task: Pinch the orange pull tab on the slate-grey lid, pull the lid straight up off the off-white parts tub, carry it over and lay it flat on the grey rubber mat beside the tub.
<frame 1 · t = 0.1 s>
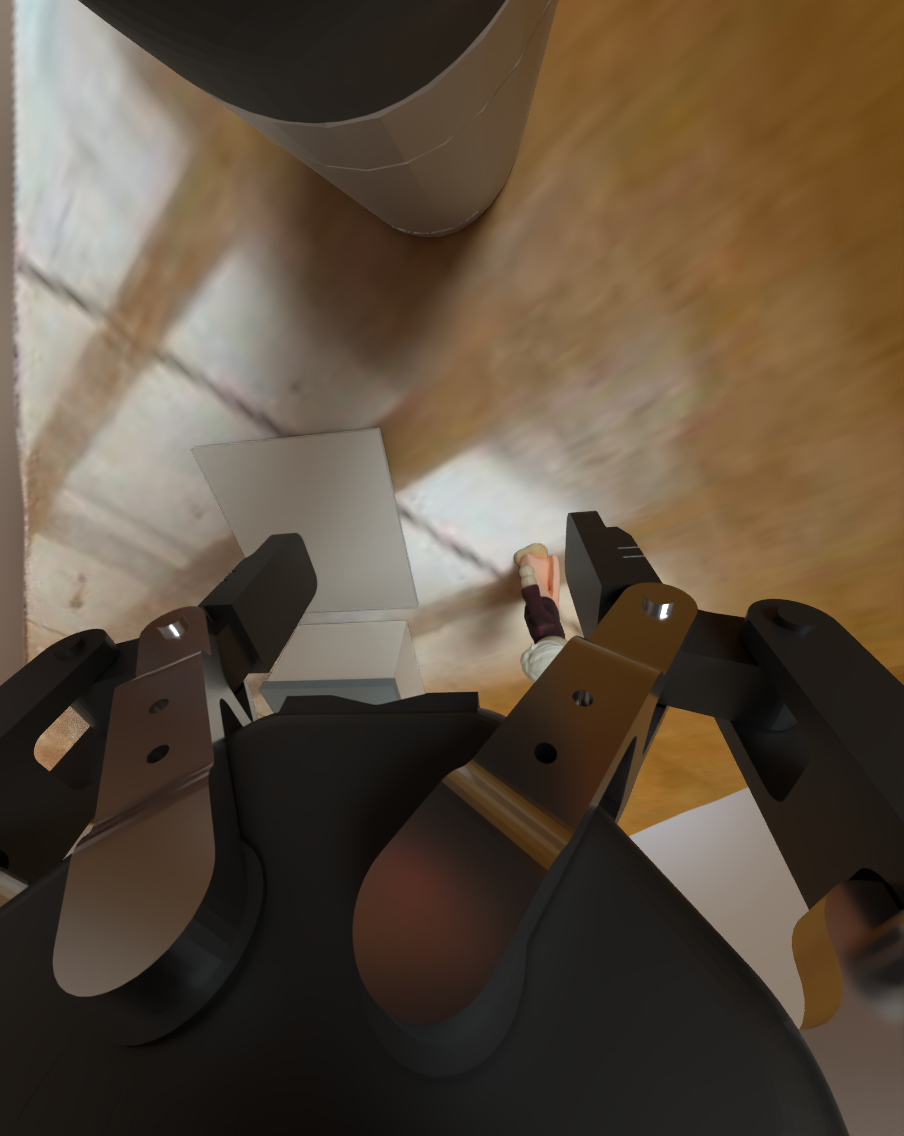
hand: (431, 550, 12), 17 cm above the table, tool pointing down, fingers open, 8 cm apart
mat: (319, 534, 32), on the table
lid: (353, 720, 37), point 6 cm above the table, touching tub
tub: (368, 670, 42), on the table
grandmother figurine: (533, 559, 33), on the table
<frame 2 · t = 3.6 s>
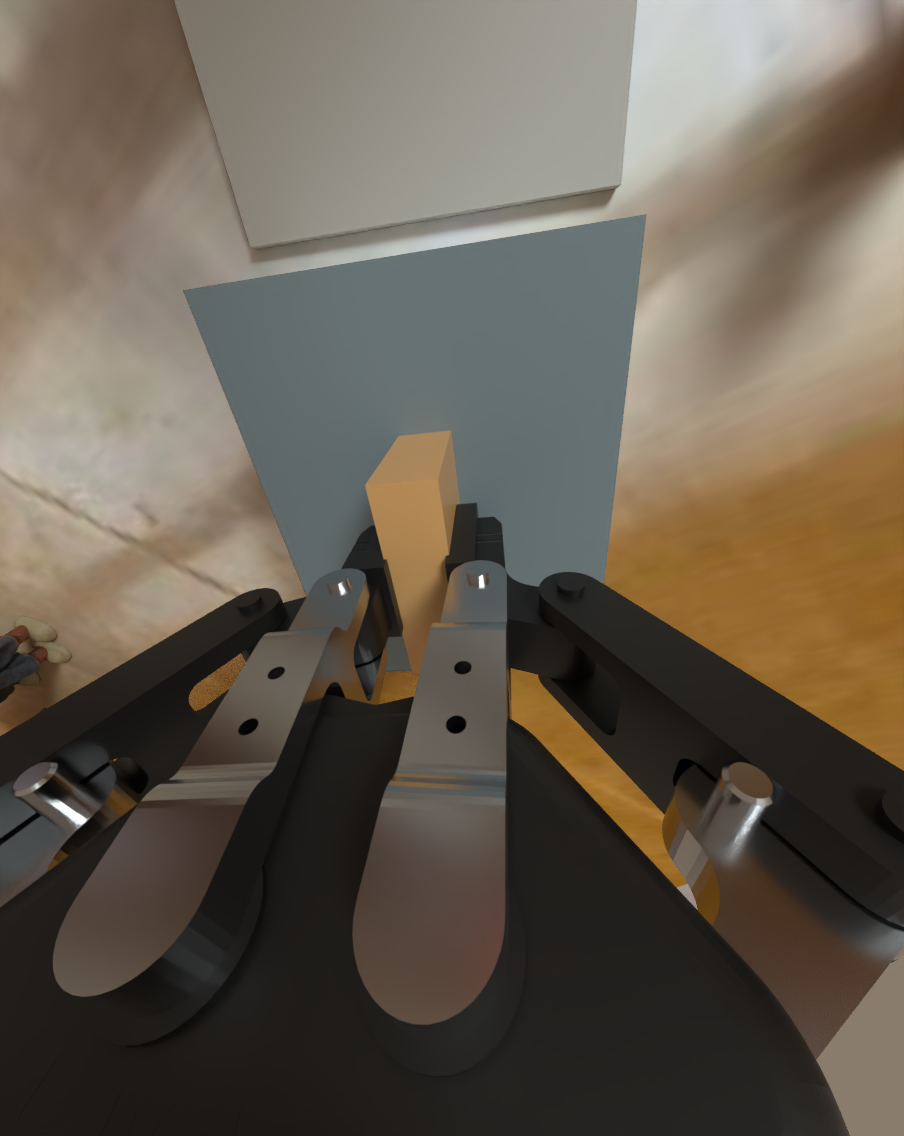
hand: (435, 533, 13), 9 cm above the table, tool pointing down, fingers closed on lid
doll family: (49, 691, 34), on the table
lid: (443, 501, 15), point 6 cm above the table, touching gripper, tub
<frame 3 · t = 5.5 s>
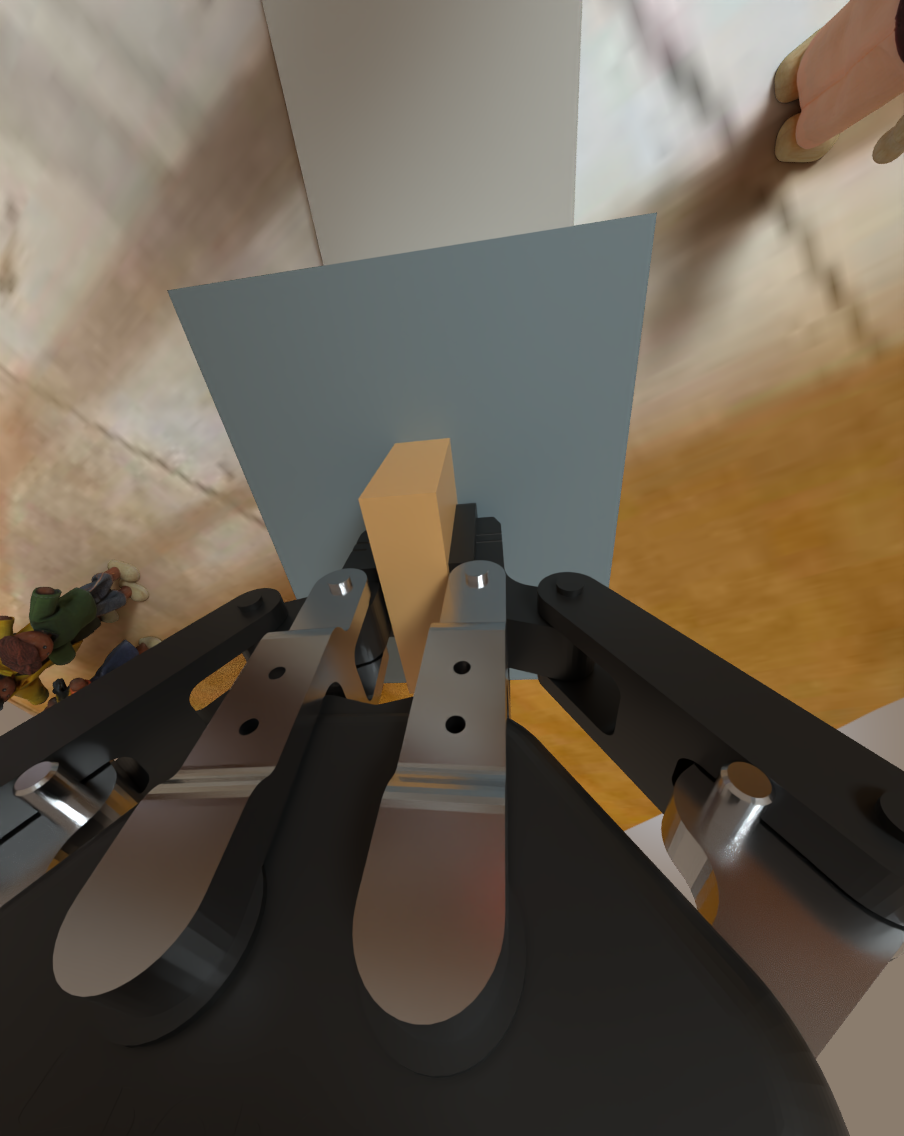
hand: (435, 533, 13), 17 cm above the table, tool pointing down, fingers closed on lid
doll family: (124, 630, 41), on the table
mat: (423, 36, 18), on the table
lid: (441, 509, 14), point 15 cm above the table, touching gripper
grandmother figurine: (806, 88, 18), on the table
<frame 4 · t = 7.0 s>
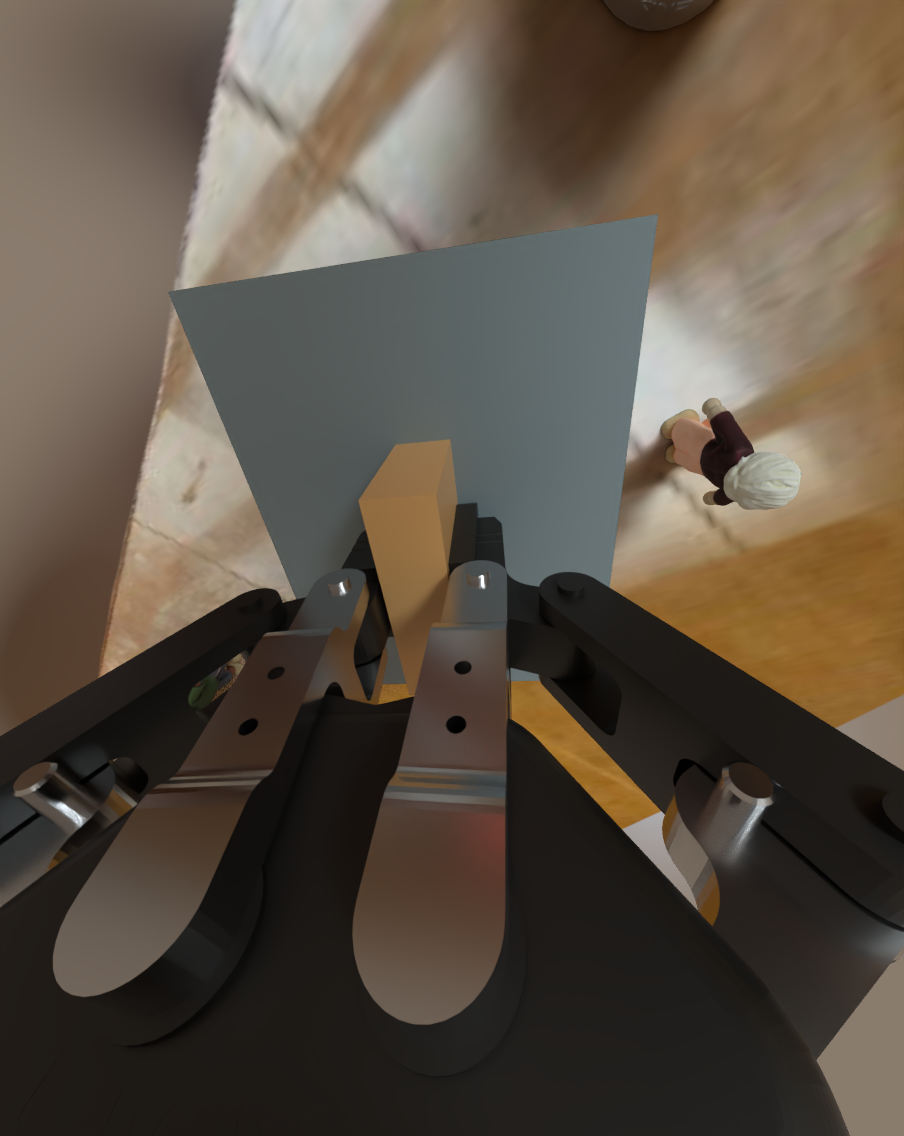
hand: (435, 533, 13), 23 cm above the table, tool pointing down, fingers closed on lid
doll family: (221, 692, 55), on the table
lid: (441, 510, 14), point 21 cm above the table, touching gripper
grandmother figurine: (680, 431, 32), on the table
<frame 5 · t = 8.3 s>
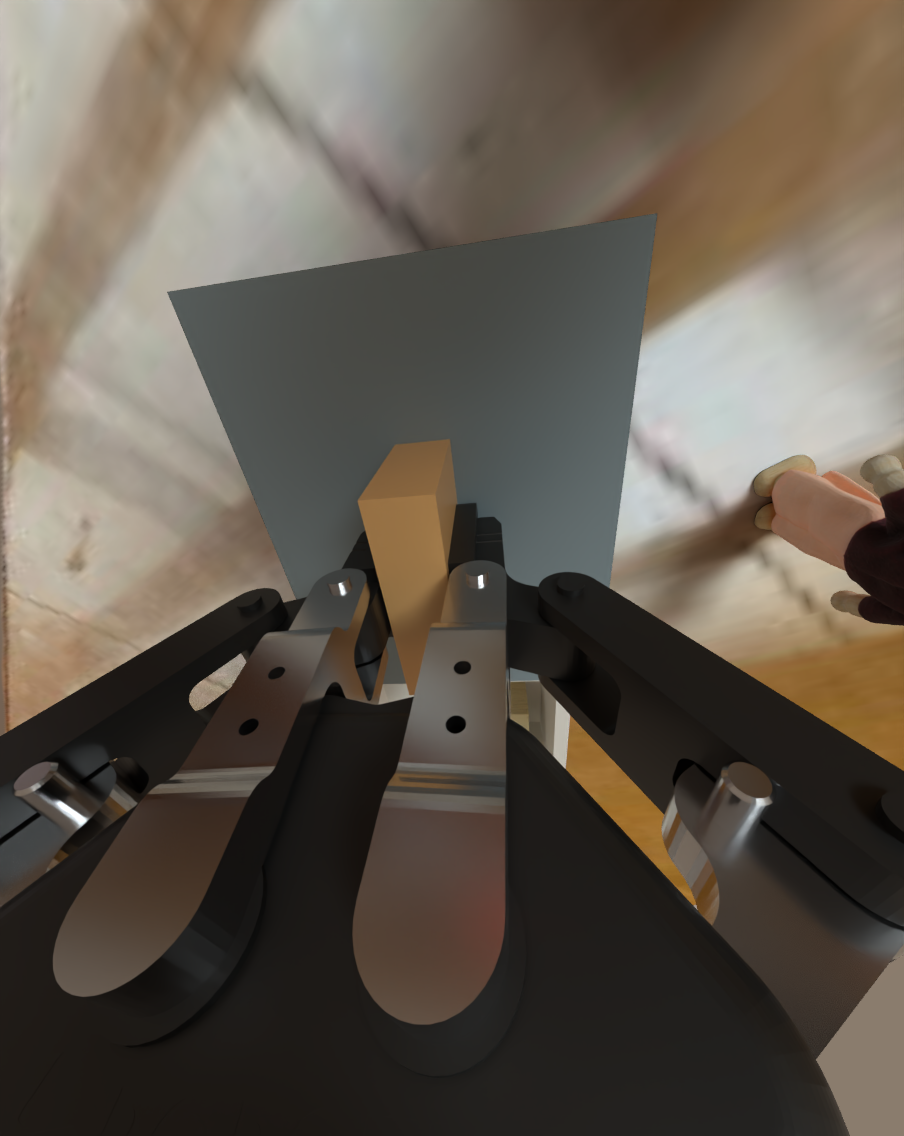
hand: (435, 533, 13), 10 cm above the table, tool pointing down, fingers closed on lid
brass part: (499, 697, 31), point 1 cm above the table, touching tub
lid: (441, 510, 14), point 8 cm above the table, touching gripper
tub: (478, 664, 30), on the table
grandmother figurine: (780, 486, 21), on the table
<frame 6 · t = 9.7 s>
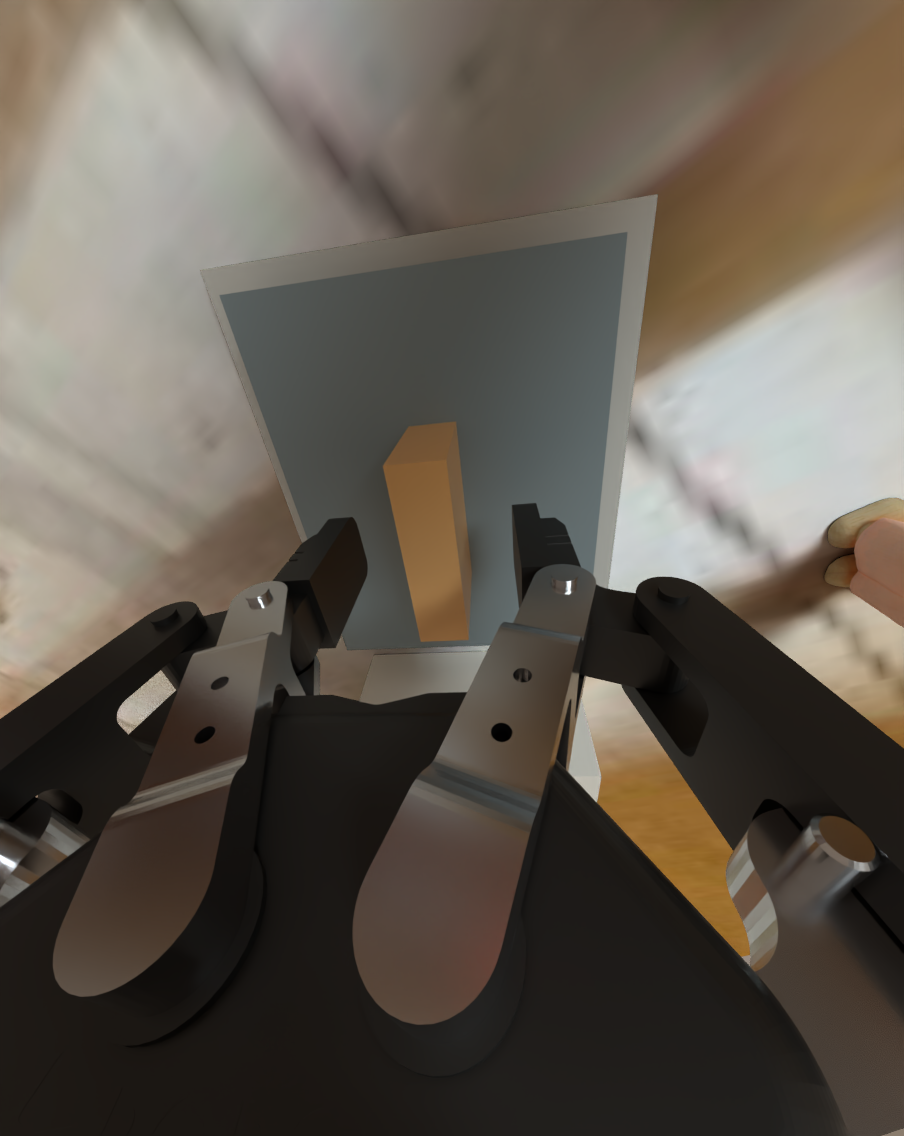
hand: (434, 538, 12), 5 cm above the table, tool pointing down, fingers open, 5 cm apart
mat: (446, 482, 16), on the table
lid: (447, 488, 16), resting on mat
tub: (478, 727, 26), on the table
grandmother figurine: (861, 534, 17), on the table
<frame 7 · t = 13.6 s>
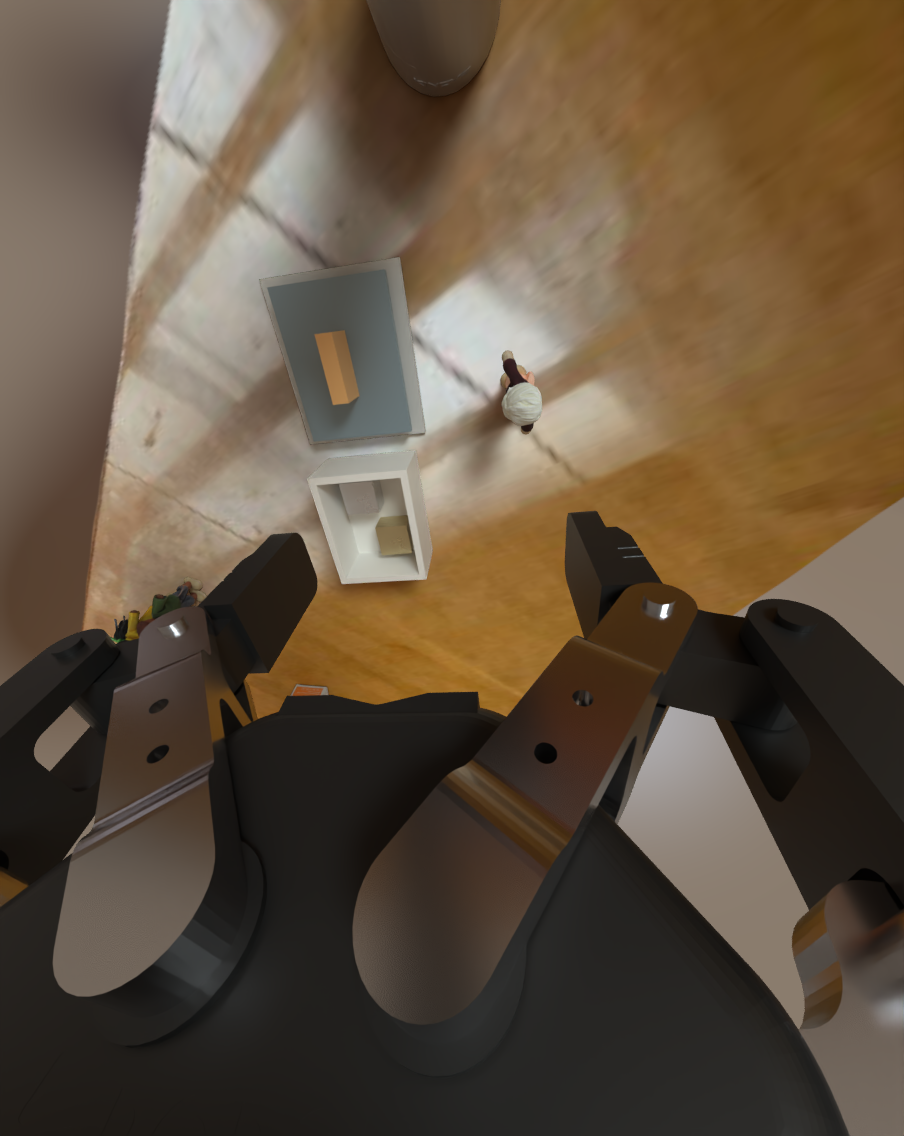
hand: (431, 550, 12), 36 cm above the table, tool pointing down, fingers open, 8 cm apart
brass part: (398, 529, 52), point 1 cm above the table, touching tub
doll family: (188, 620, 65), on the table
mat: (350, 362, 42), on the table
steel part: (365, 488, 49), point 1 cm above the table, touching tub
lid: (349, 363, 41), resting on mat
skincare box: (313, 691, 73), on the table
tub: (383, 507, 51), on the table
grandmother figurine: (515, 383, 42), on the table
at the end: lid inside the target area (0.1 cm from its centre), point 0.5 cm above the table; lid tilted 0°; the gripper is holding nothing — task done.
